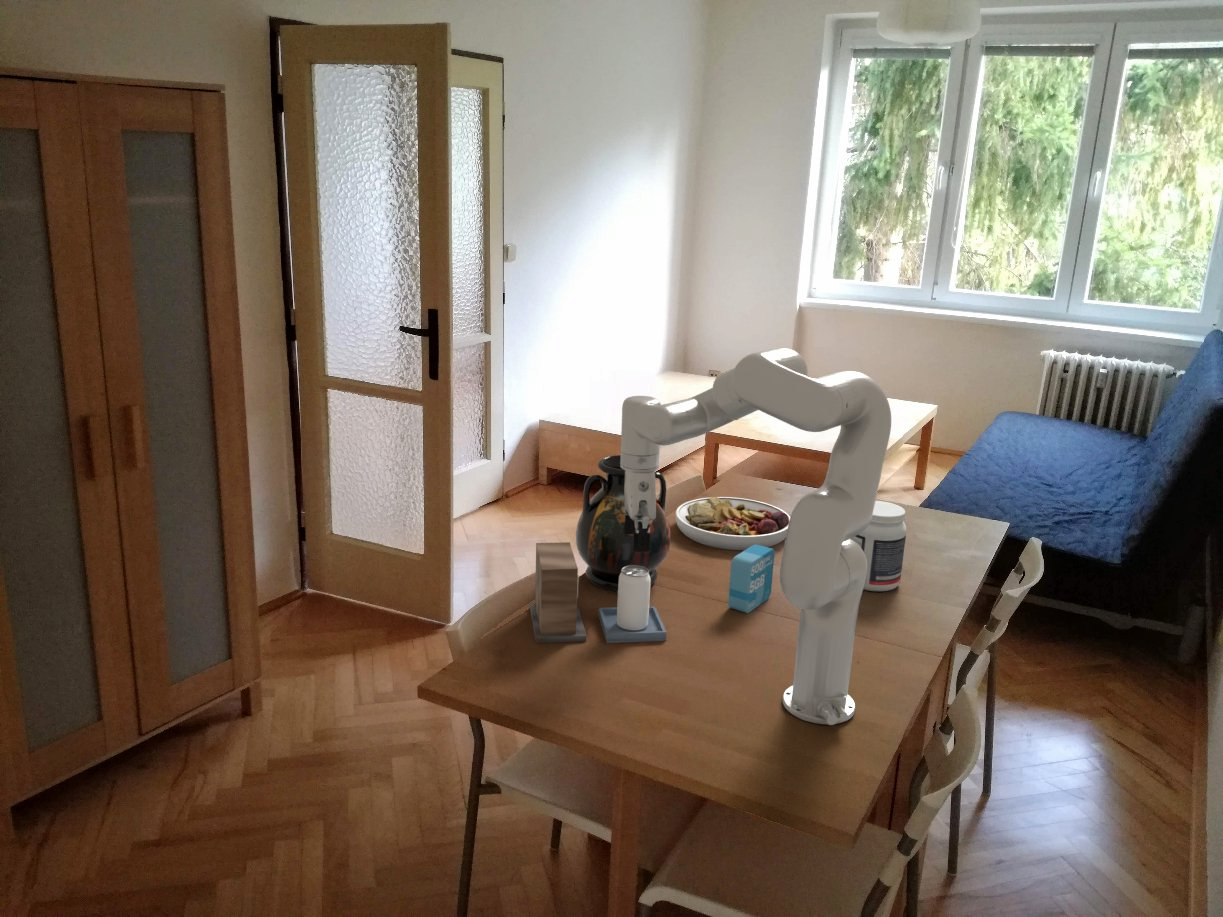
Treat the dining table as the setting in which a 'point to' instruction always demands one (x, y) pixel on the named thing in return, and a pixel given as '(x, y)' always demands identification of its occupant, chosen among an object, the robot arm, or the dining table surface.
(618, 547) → the amphora vase
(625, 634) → the tray
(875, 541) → the supplement tub
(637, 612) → the can
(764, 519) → the bowl
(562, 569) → the block
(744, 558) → the data package
